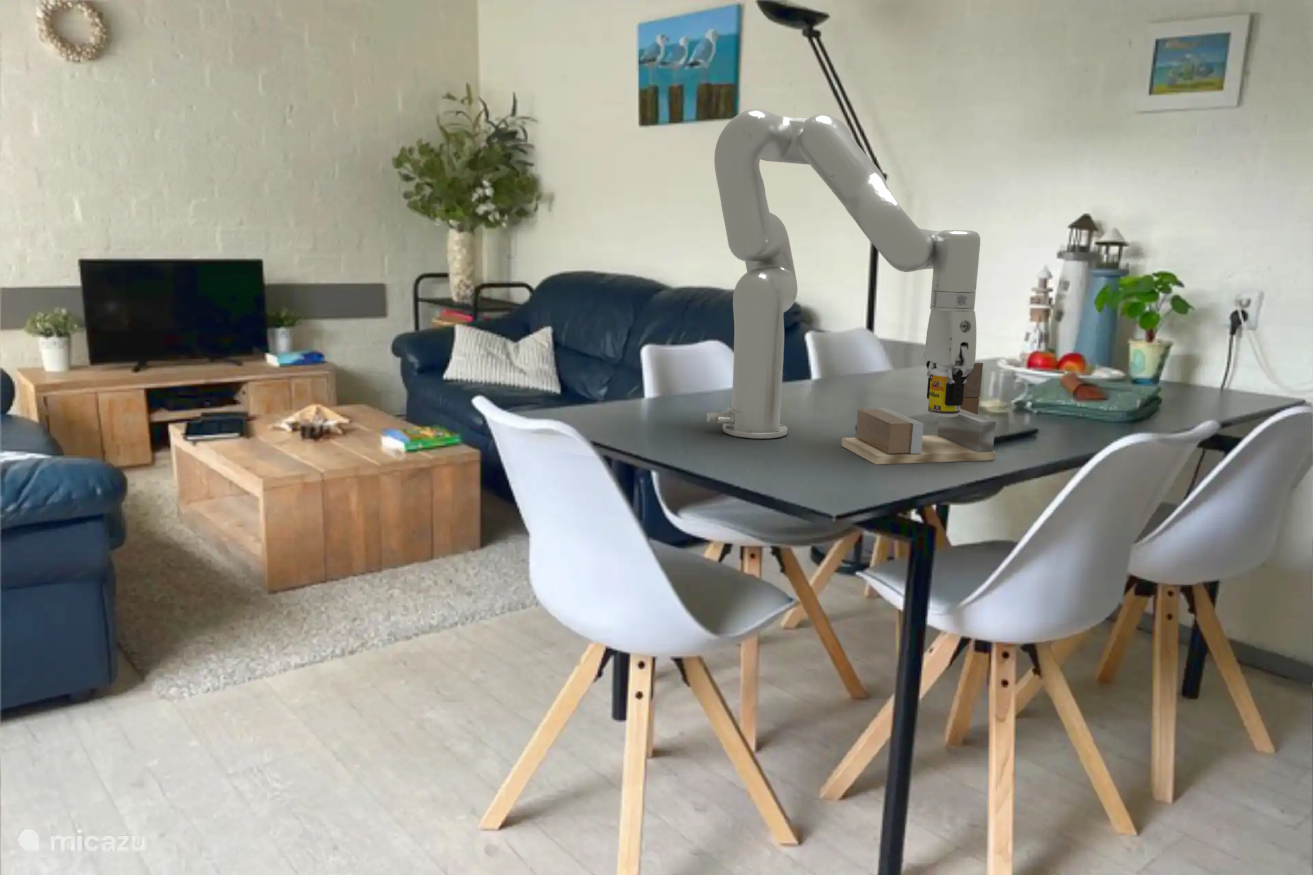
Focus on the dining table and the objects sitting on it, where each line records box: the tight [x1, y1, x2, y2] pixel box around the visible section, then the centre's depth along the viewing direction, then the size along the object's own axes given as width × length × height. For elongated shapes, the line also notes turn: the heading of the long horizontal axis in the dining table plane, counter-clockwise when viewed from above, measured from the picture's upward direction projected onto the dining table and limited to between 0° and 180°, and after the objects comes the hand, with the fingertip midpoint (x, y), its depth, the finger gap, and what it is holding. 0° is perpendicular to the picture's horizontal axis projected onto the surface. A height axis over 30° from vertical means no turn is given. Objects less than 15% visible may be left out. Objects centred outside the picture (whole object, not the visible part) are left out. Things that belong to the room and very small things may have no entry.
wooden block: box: [960, 362, 984, 415], centre depth 198 cm, size 4×11×18 cm, turn 7°
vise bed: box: [841, 409, 997, 465], centre depth 176 cm, size 23×14×7 cm, turn 104°
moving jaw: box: [855, 407, 925, 454], centre depth 174 cm, size 6×14×5 cm, turn 14°
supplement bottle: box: [927, 363, 960, 418], centre depth 175 cm, size 6×6×10 cm
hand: (944, 401), depth 175 cm, fingers closed on supplement bottle, 5 cm apart
